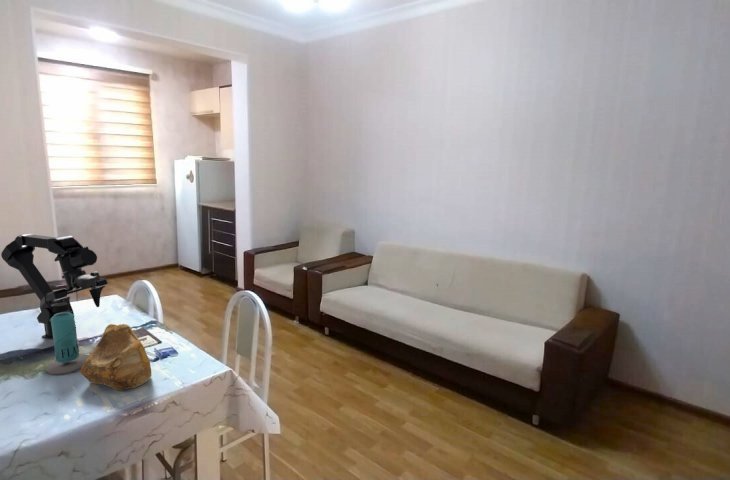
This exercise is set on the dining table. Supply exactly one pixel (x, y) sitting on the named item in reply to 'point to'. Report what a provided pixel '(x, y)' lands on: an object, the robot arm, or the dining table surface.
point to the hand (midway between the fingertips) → (85, 311)
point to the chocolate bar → (146, 337)
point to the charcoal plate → (66, 366)
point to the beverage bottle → (64, 334)
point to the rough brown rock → (118, 360)
